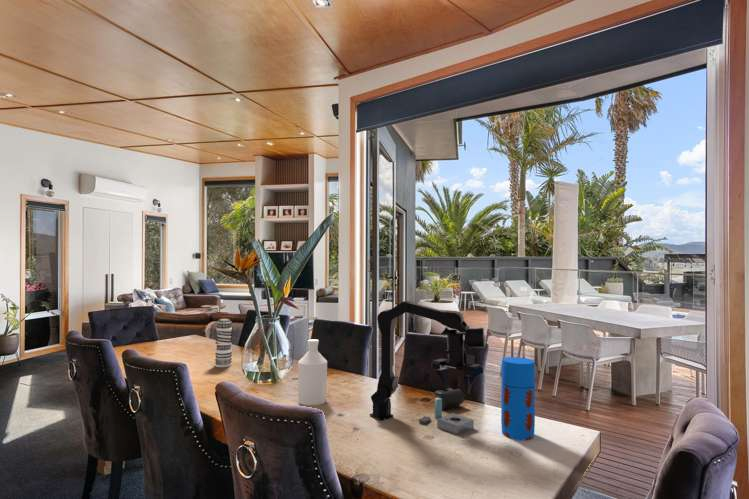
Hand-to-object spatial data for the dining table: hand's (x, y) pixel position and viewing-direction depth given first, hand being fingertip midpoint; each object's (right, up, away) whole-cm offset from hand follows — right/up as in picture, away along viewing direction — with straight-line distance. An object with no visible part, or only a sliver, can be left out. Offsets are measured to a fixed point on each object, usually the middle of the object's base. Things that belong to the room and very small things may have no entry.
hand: (457, 391), depth 161 cm
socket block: (-1, -12, -2) cm, 13 cm away
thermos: (+19, -13, -7) cm, 24 cm away
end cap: (0, -13, +21) cm, 25 cm away
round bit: (-6, -13, +8) cm, 16 cm away
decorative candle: (-112, -13, +86) cm, 142 cm away
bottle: (-55, -13, +26) cm, 63 cm away
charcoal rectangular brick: (-11, -13, +4) cm, 17 cm away
